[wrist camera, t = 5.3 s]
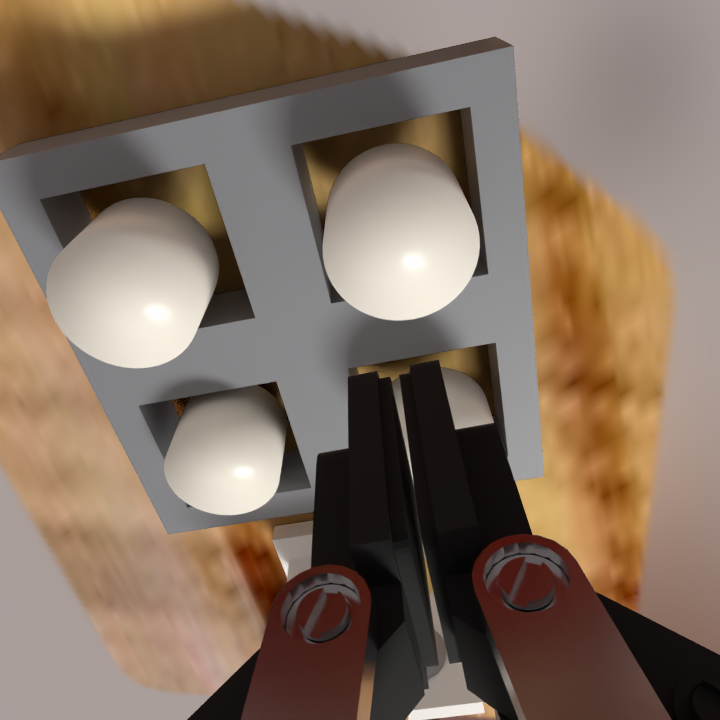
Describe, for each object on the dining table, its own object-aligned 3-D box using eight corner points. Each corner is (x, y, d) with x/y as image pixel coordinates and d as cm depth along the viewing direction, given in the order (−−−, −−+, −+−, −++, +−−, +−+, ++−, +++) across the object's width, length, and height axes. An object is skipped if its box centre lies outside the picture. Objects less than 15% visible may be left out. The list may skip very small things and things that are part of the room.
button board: (495, 36, 22) (513, 45, 20) (528, 435, 32) (544, 476, 29) (17, 144, 24) (-23, 165, 22) (182, 491, 33) (167, 534, 31)
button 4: (271, 371, 28) (261, 419, 25) (298, 453, 31) (292, 506, 28) (168, 389, 29) (146, 438, 26) (203, 469, 31) (186, 522, 28)
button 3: (193, 184, 22) (168, 219, 19) (235, 307, 24) (219, 354, 21) (63, 212, 22) (18, 250, 19) (117, 329, 25) (85, 379, 22)
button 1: (454, 129, 21) (470, 156, 18) (470, 262, 23) (487, 305, 21) (312, 159, 21) (305, 191, 19) (343, 286, 24) (341, 332, 21)
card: (457, 498, 34) (491, 677, 25) (463, 537, 35) (497, 718, 27) (274, 526, 35) (248, 708, 26) (288, 563, 36) (268, 745, 28)
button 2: (482, 357, 26) (498, 409, 23) (493, 448, 28) (509, 505, 25) (365, 378, 26) (366, 431, 23) (386, 465, 29) (389, 523, 26)
